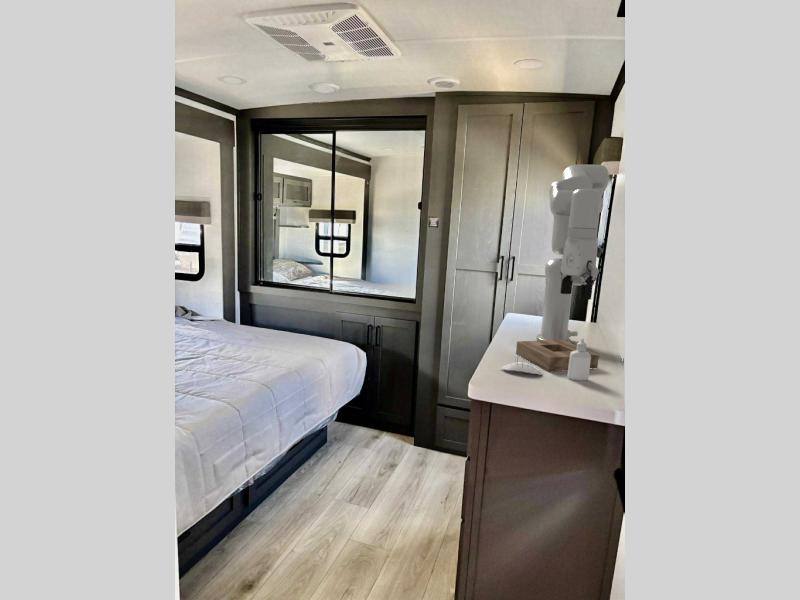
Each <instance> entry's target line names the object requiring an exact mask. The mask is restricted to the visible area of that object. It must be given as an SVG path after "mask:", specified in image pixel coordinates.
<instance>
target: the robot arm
mask: <svg viewBox="0 0 800 600" xmlns="http://www.w3.org/2000/svg"><path fill="white" fill-rule="evenodd" d="M609 180H610V173H609V170H608V168H607V167H606V166H605V165H603V164H572V165H569V166H567V167H566V168H565V169H564V170H563V171H562V174H561V179H560V180H556V181H553V182H552V183H551V184H550V187H549V208H550V212H551V214H552V215H553V222H552V223H553V224H552V236H551V251H552V252H553V254H555V255H561V256H562V258H552V259H549V260H548V261H547V262H546V264H545V267H544V275H545V278H544V279H545V280H544V281H545V287H544V289H545V290H544V302H543V310H542V319H541V321H542V322H541V330H540V333H539V334H537V335H536V336H535V340H536V341H542V340H564V341H567V342H569V343H571V344H572V342H571V341H572V340H571V339H570V337H577V336H579V332H578V330H575V331H574V330H573V331H571V330H570V329H569V324H570V323H569V322H570V314H571V313H570V312H571V303H572V295H571V294H572V291H573V290H572V289H573V286H580V289H579V297H578V298H579V300H585V301H586V300H592V295H593V286H594V285H595V282H596V280H597V278H598V275H599V272H600V269H599V268H598V267H597V257H598V246H599V244H598V243H599V242H598V241H599V240H598V230H599V221H600V213H602V211H603V207H604V198H603V196H604V194H605V191H606V190H607V188H608V184H609Z"/></svg>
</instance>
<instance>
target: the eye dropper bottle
mask: <svg viewBox="0 0 800 600" xmlns="http://www.w3.org/2000/svg"><path fill="white" fill-rule="evenodd" d="M576 346H577V350H576V351H573V352H571V353H570V358H569V366H568V371H567V378H568V380H572V381H577V382H580V381H581V382H583V381H585V382H586V381H588V380H589V377H590V370H591V369H590V362H591V355H590V354H589V353H588V352H586V350H587V343H585V339H584V338H580V341H579V342H577V344H576Z"/></svg>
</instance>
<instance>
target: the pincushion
mask: <svg viewBox="0 0 800 600" xmlns="http://www.w3.org/2000/svg"><path fill="white" fill-rule="evenodd" d="M523 357H524V355H523ZM516 359H517V358H515V361H514V362H511V363H508V364H505V365H504V366H502V367H501V368H500V370H506V371H513V372H514V371H515V373H516V374H517V373H518V372H521V373H526V375H528V374H529V373H530V374H537V375H543V372H542V371H541V370H540V369H539V368H537V366H536V365H535V366H534V364H532V363H531V362H529V359H528V361H527V362H524V361H521V362H519V361H518V360H519V359H517V362H516Z"/></svg>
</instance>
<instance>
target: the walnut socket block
mask: <svg viewBox="0 0 800 600" xmlns="http://www.w3.org/2000/svg"><path fill="white" fill-rule="evenodd" d="M576 350H577V344H576V345H575V344H573V343H572V342H571V343H569V342H567V341H564V340H542V341H539V340H523V341H522V340H519V341H516V350H515V355H516V354H517V355H516V356H518V355H519V356H518V357H520V356H521V357H520V358H522V359H523V360H525V359H526V360H525V361H527V360H528V359H529V361H530V362H531V364H532V365H535V366H536V365H537V366H536V367H538V366H539V368H540V369H541V370H544V371H546V372H548V373H550V372H551V371H554V372H563V371H562V370H568V366H569V358H570V353H571V352H573V351H576ZM586 352H588V353H589V354H590V355H591V362H590V368H597V369H598V367H599V366H598V365H599V359H600V354H598V353H595V352H594V351H591V350H589V349H586ZM523 355H524V357H523ZM530 362H529V363H530ZM551 373H552V372H551Z"/></svg>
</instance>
